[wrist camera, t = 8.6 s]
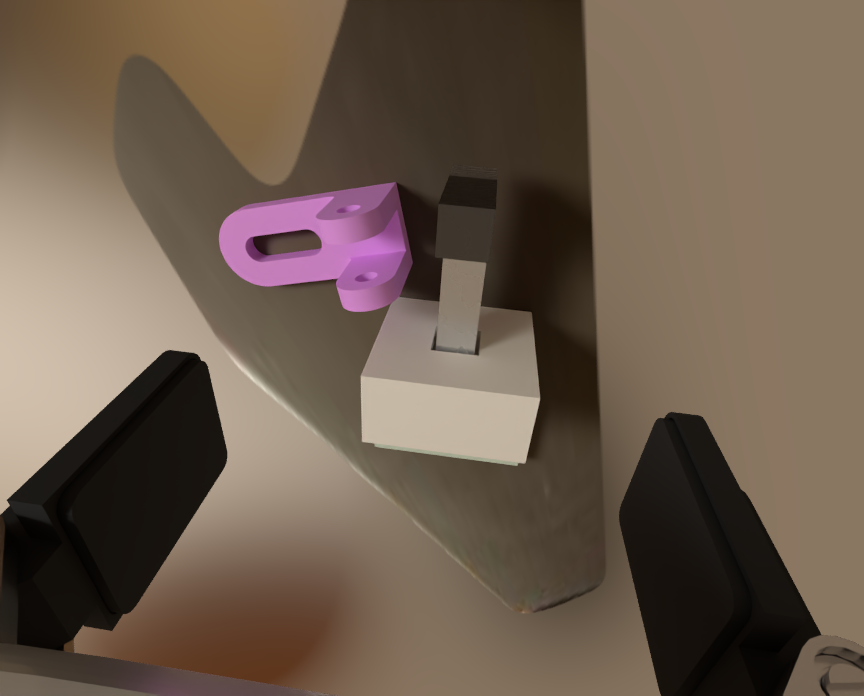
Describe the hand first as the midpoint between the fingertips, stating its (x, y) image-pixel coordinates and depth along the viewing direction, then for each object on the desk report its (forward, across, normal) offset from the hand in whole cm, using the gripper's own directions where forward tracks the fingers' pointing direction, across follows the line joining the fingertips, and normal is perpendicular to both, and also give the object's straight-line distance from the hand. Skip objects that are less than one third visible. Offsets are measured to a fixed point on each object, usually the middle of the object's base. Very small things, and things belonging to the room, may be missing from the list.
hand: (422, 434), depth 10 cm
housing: (+24, 0, +12) cm, 27 cm away
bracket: (+24, +11, +6) cm, 27 cm away
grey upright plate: (+20, 0, +5) cm, 21 cm away
